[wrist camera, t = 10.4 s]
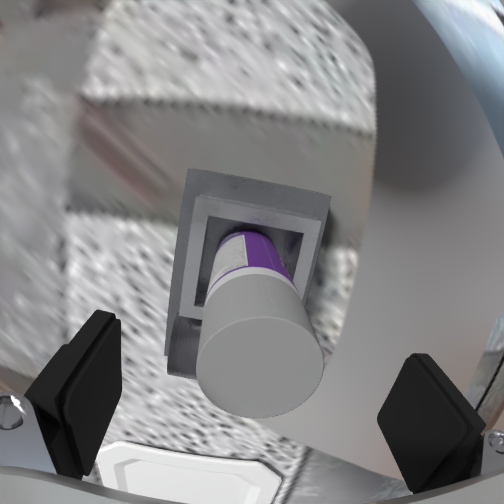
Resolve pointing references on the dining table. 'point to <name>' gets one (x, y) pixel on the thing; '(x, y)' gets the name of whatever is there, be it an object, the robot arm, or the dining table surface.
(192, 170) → the block
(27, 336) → the dining table surface
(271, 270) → the container
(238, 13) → the dining table surface
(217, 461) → the plate
